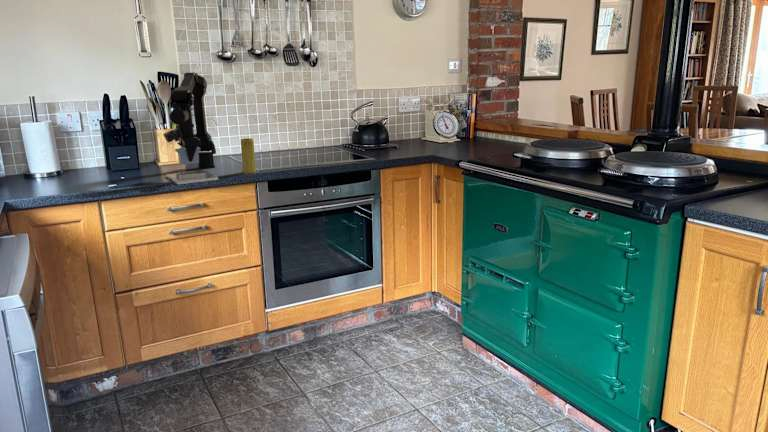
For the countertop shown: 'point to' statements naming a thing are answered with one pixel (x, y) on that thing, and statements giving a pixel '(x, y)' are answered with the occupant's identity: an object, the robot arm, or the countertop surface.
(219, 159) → the countertop surface
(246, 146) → the vase
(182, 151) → the block
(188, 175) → the chassis plate
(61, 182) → the countertop surface
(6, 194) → the countertop surface
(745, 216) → the countertop surface
